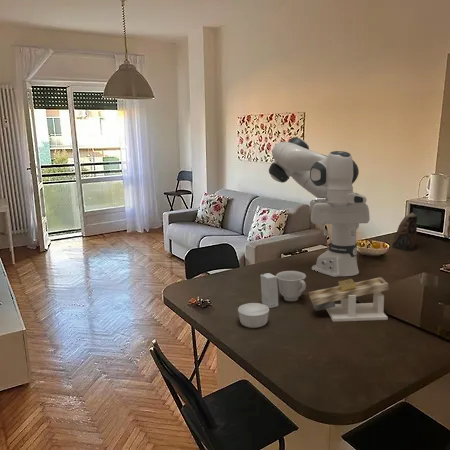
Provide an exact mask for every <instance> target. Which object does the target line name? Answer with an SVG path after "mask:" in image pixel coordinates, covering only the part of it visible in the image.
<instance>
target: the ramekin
mask: <svg viewBox="0 0 450 450" xmlns="http://www.w3.org/2000/svg"><path fill="white" fill-rule="evenodd" d="M237 313H238V317H239V322H240V324H241V325H242V326H244V327H245V328H249V329H250V328H251V329H255V328H261V327H263V326H266V324H267V323H268V320H269V313H270V308H269V307H268V306H266V305H264V304H263V303H259V302H248V303H244V304H240V305H239V307H237Z"/></svg>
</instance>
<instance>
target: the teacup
mask: <svg viewBox="0 0 450 450" xmlns="http://www.w3.org/2000/svg"><path fill="white" fill-rule="evenodd" d="M275 276H276V277H277V284H278V291H279V293H280V294H281V296H282V297H283V299H284V301H285V302H286V301H287V302H296V301H298V300H299V297H301V295H302V294H303V292H304V291H305V290H306V288H307V284H306V282H305V279H306V278H307V274H306V273H304V272H301V271H298V270H283V271H279V272H278V273H276V274H275Z"/></svg>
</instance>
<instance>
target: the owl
mask: <svg viewBox="0 0 450 450" xmlns="http://www.w3.org/2000/svg"><path fill="white" fill-rule="evenodd" d="M417 222H418V215H417V214H415V213H414V212H410V213H408V214H407V215H406V216H404V217H403V218H402V220H401V221H400V223H399V225H398V227H397V231H396V232H395V233H394V234H395V235H394V238H393V242H392V243H391V248H393V249H396V250H400V251H404V252H413V251H415V245H416V239H417V238H418V236H417V235H418V234H417V232H418V231H417V230H418V225H417Z"/></svg>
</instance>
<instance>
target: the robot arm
mask: <svg viewBox="0 0 450 450" xmlns="http://www.w3.org/2000/svg"><path fill="white" fill-rule="evenodd" d="M271 155H272V158H273V162H272V163H270V166H269V168H268V173H269V175H270V177H271V178H272V179H273V180H274V181H276V182H279V183H285V182H287V181H288V180H289V179H290V178H292V180H293V181H295V182H296V183H297V184H298V185H299V186H301V187H302V188H303V189H304V190H306V191H307V192H308V193H310V194H311V195H312V196H314V197H315V198H313V199H312V200H311V201H310V202H309V208H310V210H311V213H310V222H311V223H312V225H320V228H321V229H322V231H323V236H324V237H328V236H329V230H326V229H325V227H326V225H331V242H329V243H328V244H327V245H326V248H328V249H327V250H326V251H325V252H323V253H321V254H320V255H318V257H317V259H316V264H314V265H312V267H311V270H312V271H314V270H315V272H317V271H318V273H320V274H324V275H327V276H330V277H332V278H333V277H337V278H338V277H353V276H357V275H359V273H360V270H359V267H358V260H357V254H358V244H357V231H358V228H359V226H360V224H368V223H369V222H370V217H371V216H370V208H369V206H368V204H367V196H365V195H363V194H360V193H357V192H354V187H353V184H354V183H355V182H356V180H357V179H358V177H359V172H360V171H359V167H358V165H357V163H356V162H355V161H354V160H353V157H352V155H351V153H350V152H348V151H345V150H343V151H341V150H340V151H339V150H334V151H330V152H329V153H328V154H327V155H325V154H322V153H319V152H316V151H313V150H311V149H310V147H309V145H308V144H307V142H306V141H305V140H304V139H302V138H300V137H297V136H294V137H292V138H290V140H288V141H280V142H278V143H276V144H275V145H274V146H273V148H272V152H271Z"/></svg>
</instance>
